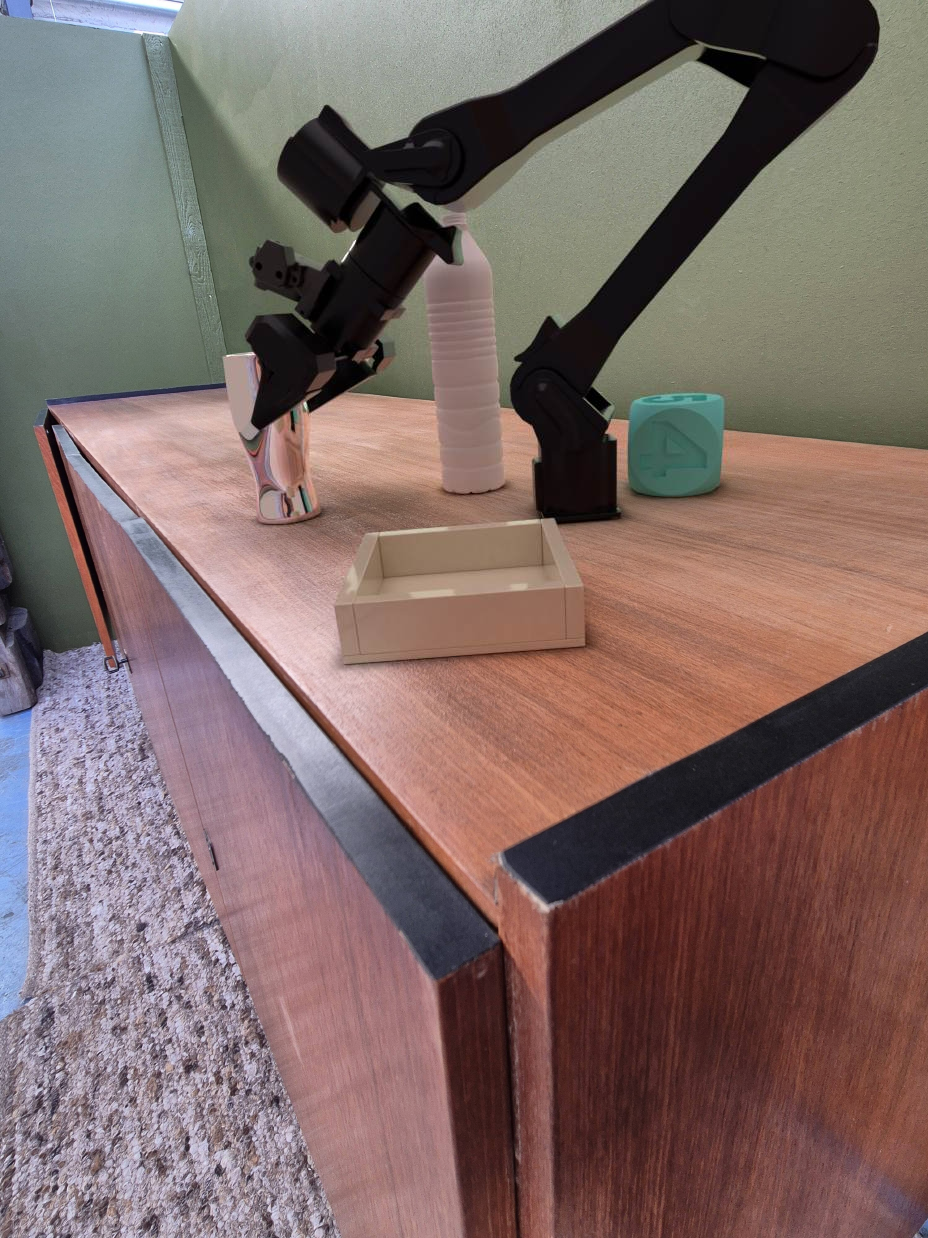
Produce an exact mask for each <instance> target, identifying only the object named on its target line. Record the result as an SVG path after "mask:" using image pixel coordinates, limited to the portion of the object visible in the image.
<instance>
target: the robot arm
mask: <svg viewBox="0 0 928 1238" xmlns="http://www.w3.org/2000/svg"><path fill="white" fill-rule="evenodd" d="M880 33H881V25H880V19H879V16H878V10H877V9H876V8H875V6H874V4H873V3H872V1H871V0H647V1H646V2H644V3H643V4H641V5H639V6H638V7H636V8H635V9H633V10H631V11H630V12H628V13H626V14H625V15H624V16H622V17H621V18H619V19H618V20H615V21H614V22H613V23H611V24H609V25H607V26H606V27H604V28H603V29H602V30H600V31H599V32H596V33H595V34H594V35H592V36H590V37H589V38H588V39H586V40H584V41H583V42H581V43H580V44H578V45H576V46H575V47H574V48H572V49H570V50H569V51H567V52H566V53H564V54H562V55H561V56H559V57H558V58H557V59H555V60H553V61H552V62H550V63H549V64H547V65H545V66H543V67H542V68H541V69H539V70H537V71H536V72H534V73H533V74H531V75H530V76H528V77H526V78H525V79H523V80H521V81H520V82H518V83H517V84H516V85H515V84H514V86H511V87H509V88H506V89H504V90H500V91H498V92H494V93H489V94H484V95H480V96H476V97H472V98H467V99H465V100H462V101H460V102H456V103H455V104H452V105H449V106H447V107H445V108H444V107H443V109H439V110H437V111H434V112H432V113H430V114H428V115H426V116H424V117H422V118H421V119H420V120H419V121H418V122H417V123H416V124H414V126H413V127H412V129H411V130H410V132H409V133H408V136H407V137H404V138H401V139H398V140H395V141H392V142H389V143H386V144H382V145H379V146H376V147H372V146H371V145H370V144H369V142H367V140H366V139H364V138H363V137H362V136H361V135H360V134H359V133H358V132H357V131H356V129H355V128H354V127H353V125H352V124H351V122H350V121H349V120H348V118H346V116H345V115H344V114H343V113H341V111H340V110H338V109H337V108H335V107H334V106H331V105H330V104H324V105H323V106H322V109H321V111H320V112H319V114H318V116H317V117H315V118H313V119H309V121H307V122H306V123H305V124H303V125H302V126H301V127H300V128H299V129H298V130H297V131H296V133H294V135H293V136H289V137H288V139H287V140H286V142H285V144H284V146H283V148H282V150H281V152H280V155H279V158H278V160H277V167H276V176H277V179H278V181H279V182H280V183H281V184H282V185H283V186H284V187H285V188H286V189H288V191H289V192H291V194H293V196H295V198H297V199H298V200H299V201H300V202H301V203H302V204H303V205H304V206H305V207H306V208H307V209H308V210H309V211H310V212H311V213H312V214H313V215H314V216H316V217H317V218H318V220H320V221H321V222H322V223H323V224H324V225H325V226H326V227H327V228H328V229H329V230H330V231H331V232H332V233H334V234H339V233H342V232H345V231H346V230H349V231H350V232H351V233H357V232H358V231H359V233H358V235H357V236H356V238H355V239H354V241H353V242H352V244H351V246H350V248H349V249H348V251H347V253H346V254H345V255H344V257H343V258H342V259H337V258H332V259H328V260H327V261H326V262H325V264H323V263H321V262H318V261H316V260H314V259H311V258H309V257H307V256H304V255H302V254H299V253H298V252H295V250H294V247H293V246H291V245H286V244H282V243H281V242H280V241H279V240H277V239H270V238H267V239H266V240H265V241H264V242H263V244H262V245H261V246H259V245H258V246H256V250H255V253H254V255H252V256H250V257H249V259H248V264H249V267H250V268H251V273H252V275H253V277H254V280H253V281H254V282H253V286H254V287H255V288H257V289H259V290H261V291H263V292H267V291H269V292H272V293H274V294H277V295H279V296H281V297H283V298H286V299H288V300H290V301H293V302H295V303H297V304H296V305H295V307H294V309H293V310H294V311H295V312H296V313H297V314H298V315H299V316H300V317H301V318H302V319H304V320H307V321H308V322H310V324H309V327H308V326H307V325H306V324H305V323H303V321H301V320H300V319H299V318H298V317H297V316H296V315H295V314H294V313H293V312H287V313H285V312H283V313H270V314H258V315H257V314H256V315H255V317H253V320H252V321H251V323H250V324H249V326H248V328H247V330H246V332H245V333H244V339H245V341H246V343H248V344H249V345H250V350H251V352H253V353H254V354H255V355H256V356H258V359H259V362H260V365H261V376H260V383H259V387H258V392H257V396H256V400H255V405H254V409H253V413H252V418H251V424H252V425H253V426H254V427H255V428H256V429H257V430H259V431H261V430H263V429H265V428H266V427H268V426H269V425H271V424H272V423H274V422H275V421H277V420H278V419H280V418H281V417H283V416H284V415H286V414H287V413H289V412H290V411H292V410H293V409H295V408H296V407H298V406H299V405H301V404H302V403H304V402H306V401H308V408H309V415H310V414H312V413H314V412H316V411H317V410H319V409H320V408H322V407H324V406H326V405H327V404H329V403H331V402H332V401H334V400H335V399H336V400H337V398H339V397H341V396H342V395H344V394H346V393H348V392H349V391H351V390H353V389H354V388H357V387H358V386H360V385H362V384H363V383H365V382H367V381H369V380H370V379H372V378H375V377H376V376H378V373H380V372H383V371H386V370H387V369H388V367H389V365H390V364H391V363H392V362H393V360H394V359H395V357H396V356H397V352H396V344H395V343H396V342H395V340H394V339H393V338H392V337H391V336H390V335H388V334H387V332H385V329H386V327H387V326H388V325H389V323H390V322H391V320H398V319H400V318H401V317H402V316H403V314H404V312H405V311H406V310H407V308H406V307H405V306H404V305H403V303H404V302H405V301H406V300H407V298H408V296H409V295H410V293H411V292H412V291H413V289H414V288H415V286H416V285H417V284H418V282H419V280H421V278H422V277H423V276H424V272H425V271H426V269H427V268H428V266H429V265H430V264H431V262H432V261H433V259H434V258H435V257H436V255H438V256H439V257H440V258H441V259H442V260H443V261H444V262H445V263H446V264H448V265H456V266H461V265H462V264H463V263H464V257H463V251H462V245H461V237H462V229H461V228H460V227H457V226H454V225H452V226H449V227H444V226H443V225H442V224H441V221H439V220H438V219H437V218H436V217H435V215H433V214H432V213H431V212H430V211H428V209H427V208H426V207H424V205H422V203H420V202H419V201H414V202H411V203H409V204H407V205H406V204H404V203H403V202H402V201H401V200H400V199H399V198H398V197H397V196H396V195H394V193H392V192H391V190H389V188H387V184H388V185H390V186H393V187H396V188H398V189H400V190H403V191H406V192H409V193H411V194H415V195H417V196H418V197H419V198H420V199H421V200H423V201H424V202H426V203H429V204H431V205H434V206H435V207H439V208H441V209H444V210H446V211H450V212H452V213H463V214H466V213H468V212H471V211H474V210H476V209H477V208H479V207H481V205H482V204H484V203H485V202H486V201H487V200H488V199H490V198H491V197H492V196H493V195H494V194H496V193H497V192H498V191H499V190H501V188H502V187H504V186H505V185H506V184H508V183H509V182H510V181H511V179H512V178H513V177H514V176H515V175H516V174H517V173H518V172H519V171H520V170H521V169H522V168H523V166H524V165H525V164H526V163H527V162H528V161H529V160H530V159H531V158H532V157H534V156H535V155H536V154H537V153H538V152H539V151H541V149H543V148H544V147H546V146H548V145H550V144H551V143H553V142H555V141H556V140H558V139H560V138H561V137H563V136H564V135H567V134H568V133H570V132H572V131H573V130H575V129H577V128H579V127H580V126H582V125H584V124H585V123H587V122H588V121H590V120H592V119H593V118H595V117H597V116H599V115H600V114H602V113H604V112H605V111H607V110H609V109H610V108H612V107H614V106H615V105H617V104H619V103H620V102H622V101H624V100H625V99H627V98H629V97H630V96H632V95H634V94H636V93H638V91H641V90H643V89H644V88H645V87H647V86H649V85H651V84H653V83H655V82H656V81H658V80H659V79H661V78H663V77H664V76H666V75H668V74H669V73H671V72H674V71H675V70H676V69H678V68H680V67H681V66H683V65H685V64H686V63H690V62H692V63H695V64H698V65H700V66H703V67H706V68H707V69H710V70H712V72H715V73H716V74H719V75H720V76H721V77H724V78H725V79H727V80H729V81H730V82H732V83H734V84H736V85H737V86H739V87H742V88H744V89H746V90H747V91H746V93H745V95H744V97H743V99H742V101H741V102H740V104H739V106H738V108H737V110H736V111H735V113H734V115H733V116H732V118H731V120H730V122H729V123H728V124H727V127H726V129H725V131H724V132H723V133H722V135H721V136H720V137H719V139H718V140H717V141H716V142H715V143H714V145H713V146H712V147H711V149H709V151H708V153H707V154H706V155H705V156H704V157H703V158H702V160H701V161H700V162H699V164H698V165H697V166H696V167H695V169H694V170H693V171H692V173H691V174H690V175H689V176H688V177H687V179H686V180H685V181H684V183H683V184H682V185H681V186H680V188H679V189H678V190H677V191H676V193H675V194H674V195H673V196H672V198H671V199H670V200H669V201H668V203H667V204H666V205H665V206H664V208H663V209H662V210H661V212H660V213H659V214H658V215H657V217H656V218H655V219H654V220H653V222H652V223H651V224H650V225H649V227H648V228H647V229H646V230H645V232H644V233H642V235H641V237H639V239H638V241H636V243H635V244H634V245H633V246H632V247H631V249H630V250H629V251H628V253H627V254H626V256H625V257H624V258H623V259H622V261H621V262H620V263H619V264H618V266H616V268H615V269H614V270H613V272H612V273H611V274H610V276H608V278H607V279H606V280H605V282H604V283H603V284H602V285H601V287H600V288H599V289H598V291H597V292H596V293H595V294H594V295H593V296H592V298H591V299H590V301H589V302H588V303H587V304H586V305H585V306H584V307H583V308H582V309H581V310H580V311H579V312H578V313H577V314H576V315H574V316H573V317H572V318H571V319H569V320H568V321H566V320H565V318H564V317H563V316H562V314H561V313H555V314H551V315H547V316H546V317H545V319H544V321H543V322H542V324H541V326H540V327H539V329H538V331H537V333H536V334H535V337H534V339H533V340H532V342H531V343H530V344H529V345H528V347H526V348H525V349H524V350H523V351H522V352H520V353H519V354H517V355H515V356H513V361H514V362H516V363H520V364H519V365H518V366H517V367H516V369H515V371H514V372H513V374H512V376H511V379H510V383H509V394H510V401H511V402H510V403H511V404H512V407H513V410H514V412H515V414H517V416H518V417H519V418H520V419H521V421H523V422H524V423H526V424H528V425H529V426H531V428H532V429H533V433H534V435H535V437H536V439H537V457H533V458H532V459H531V479H532V497H533V498H532V499H533V501H532V502H533V505H534V508H535V511H536V512H538V513H540V516H541V519H549V518H554V519H555V521H556V523H563V522H573V521H588V520H598V519H599V520H600V519H601V520H602V519H612V518H620V517H622V515H623V514H622V513H623V512H622V511H623V510H622V509H621V508H620V507H619V505H618V439H617V438H616V437H615V436H614V435H612V433H606V432H607V431H608V429H609V427H610V424H611V422H612V418H613V416H614V413H615V410H616V407H615V405H614V404H613V403H612V402H611V401H610V400H608V398H606V396H605V395H603V394H602V393H601V392H600V391H599V390H598V389H597V388H596V387H595V384H596V382H597V380H598V378H599V377H600V375H601V373H602V372H603V370H604V369H605V368H606V367H605V366H606V365H607V363H608V362H609V360H610V358H611V357H612V354H613V353H614V351H615V350H616V348H617V346H618V344H619V343H620V341H621V339H622V338H623V336H624V335H625V333H627V331H629V328H630V327H631V326H632V325H633V324H634V323H635V322H636V320H637V319H638V318H639V317H640V316H641V315H642V313H643V312H644V311H645V310H646V309H647V307H648V306H649V305H650V304H651V302H652V301H654V299H655V298H656V297H657V296H658V295H659V293H660V292H661V291H662V290H663V288H664V287H665V286H666V285H667V284H668V283H669V281H670V280H671V279H672V278H673V277H674V276H675V274H676V273H677V272H678V270H679V269H680V268H681V267H682V266H683V264H684V263H685V262H686V261H687V260H688V259H689V258H690V257H691V255H692V254H693V253H694V252H695V250H696V249H697V248H698V247H699V246H700V245H701V243H702V242H703V241H704V240H705V238H706V237H708V235H709V234H710V233H711V232H712V230H713V229H714V228H715V227H716V226H717V224H718V223H719V222H720V221H721V220H722V218H723V217H724V216H725V215H726V213H727V212H729V210H730V209H731V208H732V206H734V204H735V203H736V202H737V201H738V200H739V198H740V197H741V196H742V195H743V193H744V192H745V191H746V190H747V189H748V188H749V186H750V185H751V184H752V183H753V182H754V180H755V179H757V177H758V176H760V175H761V174H762V173H763V172H764V171H765V170H766V169H767V168H768V167H770V166H771V165H772V164H773V163H775V162H776V161H777V160H778V159H779V158H780V157H782V156H783V155H784V154H785V153H786V152H787V151H788V150H790V148H792V147H793V146H794V145H795V144H796V143H798V142H799V141H800V140H801V139H802V138H803V137H804V136H806V135H807V134H808V133H809V132H810V131H811V130H812V129H814V128H815V127H816V126H817V125H818V124H819V123H820V122H821V121H822V120H823V119H825V118H826V117H827V116H829V114H831V112H833V111H834V110H835V109H836V108H837V107H838V105H840V104H841V102H842V101H843V100H844V99H845V98H847V96H848V95H849V94H850V93H851V92H852V90H854V88H856V86H858V84H859V83H860V82H861V81H862V80H863V78H864V77H865V75H866V74H867V73H868V71H869V69H870V68H871V67H872V65H873V64H874V62H875V59H876V56H877V54H878V51H879V44H880ZM370 359H373V360H374V361H373V362H372V364H370V363H369V361H370Z"/></svg>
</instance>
